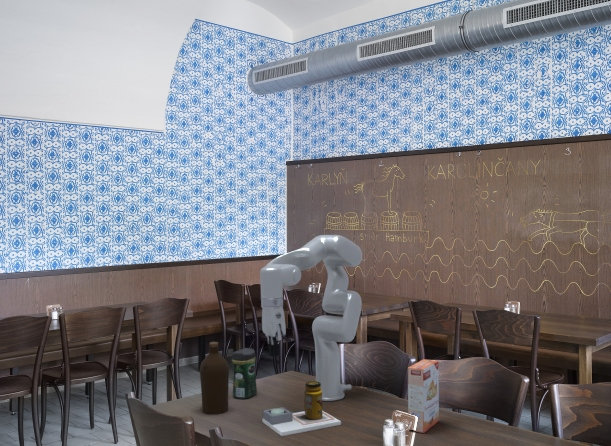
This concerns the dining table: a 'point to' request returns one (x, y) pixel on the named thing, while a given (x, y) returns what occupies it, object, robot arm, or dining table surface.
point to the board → (295, 422)
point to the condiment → (312, 402)
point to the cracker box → (424, 393)
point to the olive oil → (214, 381)
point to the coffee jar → (244, 373)
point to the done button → (277, 411)
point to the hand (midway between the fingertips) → (273, 355)
